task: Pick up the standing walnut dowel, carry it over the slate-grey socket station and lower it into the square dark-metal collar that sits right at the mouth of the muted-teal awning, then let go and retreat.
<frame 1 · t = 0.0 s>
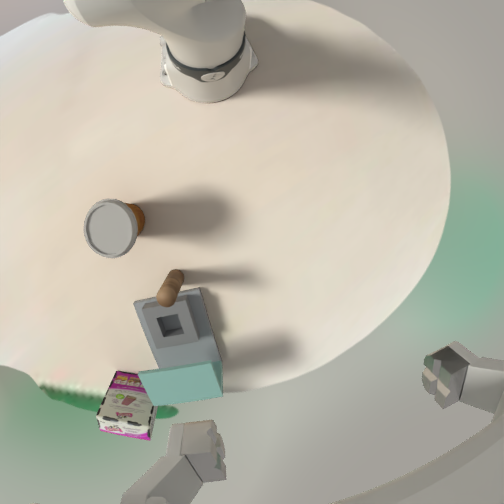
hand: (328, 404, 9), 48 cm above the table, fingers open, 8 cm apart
candy bar box: (139, 381, 62), on the table
walnut dowel: (175, 277, 57), on the table
socket station: (179, 333, 60), on the table
disposable coffee cup: (130, 220, 54), on the table
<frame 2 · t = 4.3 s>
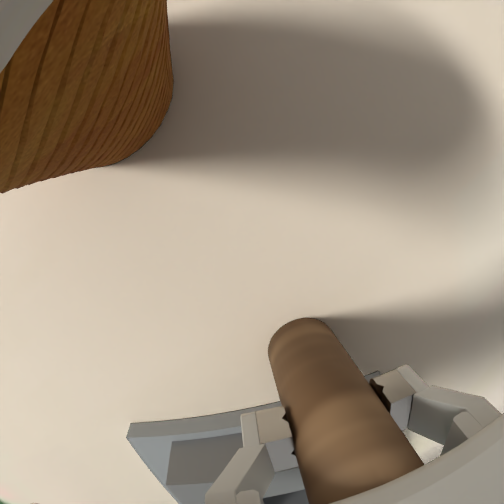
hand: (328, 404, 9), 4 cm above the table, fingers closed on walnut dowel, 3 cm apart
walnut dowel: (302, 348, 13), on the table, touching gripper
socket station: (279, 486, 16), on the table
disposable coffee cup: (103, 96, 10), on the table
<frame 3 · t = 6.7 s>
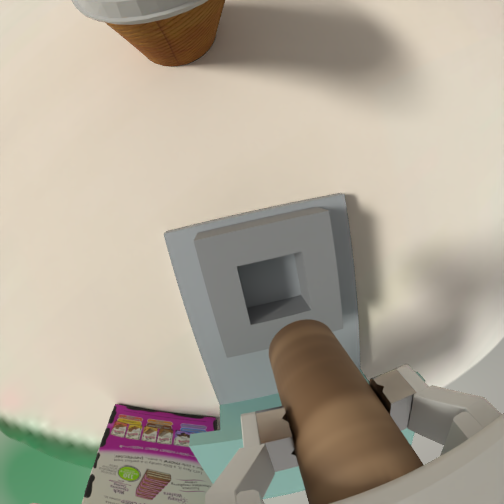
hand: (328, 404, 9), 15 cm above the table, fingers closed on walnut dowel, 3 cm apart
candy bar box: (166, 424, 28), on the table
walnut dowel: (302, 349, 13), point 11 cm above the table, touching gripper
socket station: (275, 314, 25), on the table
disposable coffee cup: (178, 36, 19), on the table
when the fingers open (6 cm above the table, at t = 9.2 s): walnut dowel stays where it is, resting on socket station.
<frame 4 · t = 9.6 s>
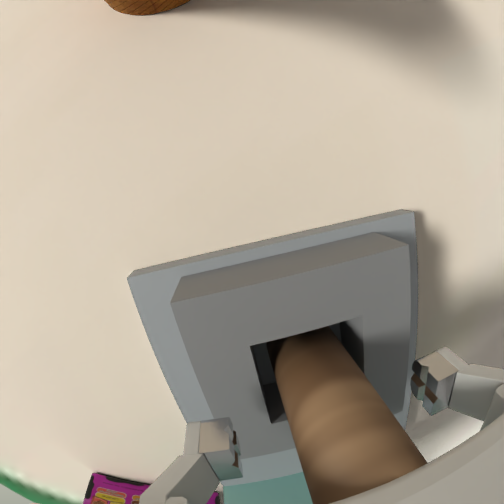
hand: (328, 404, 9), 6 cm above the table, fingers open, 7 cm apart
candy bar box: (156, 494, 18), on the table
walnut dowel: (298, 341, 14), point 1 cm above the table, touching socket station
socket station: (302, 385, 16), on the table
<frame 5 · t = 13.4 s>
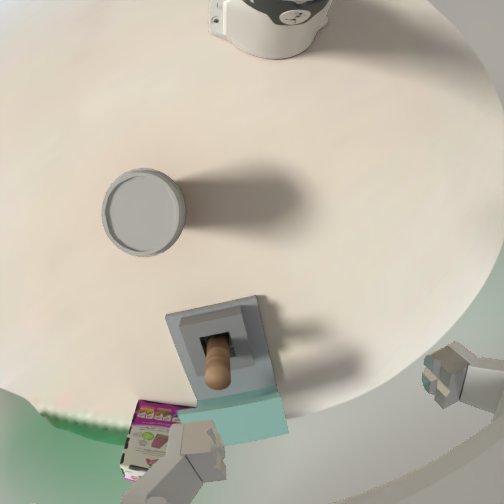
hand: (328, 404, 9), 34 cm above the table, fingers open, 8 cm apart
candy bar box: (167, 411, 49), on the table
walnut dowel: (218, 337, 44), point 1 cm above the table, touching socket station
socket station: (224, 354, 46), on the table
disposable coffee cup: (162, 205, 41), on the table
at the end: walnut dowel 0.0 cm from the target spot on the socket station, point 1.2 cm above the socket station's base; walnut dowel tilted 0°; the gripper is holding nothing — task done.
